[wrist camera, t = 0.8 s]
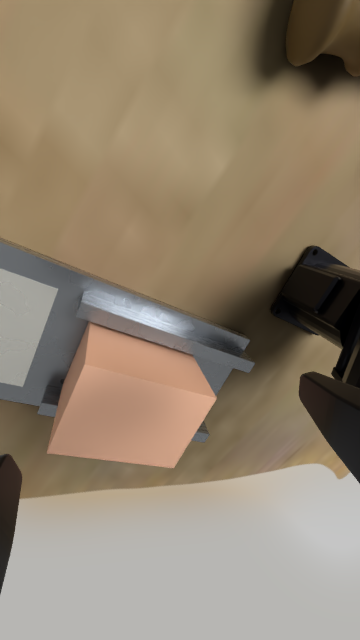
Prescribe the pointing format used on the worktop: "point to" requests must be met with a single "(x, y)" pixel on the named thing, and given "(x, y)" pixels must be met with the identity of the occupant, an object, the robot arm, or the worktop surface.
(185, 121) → the worktop surface
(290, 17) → the kendama
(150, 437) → the block
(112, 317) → the chute
